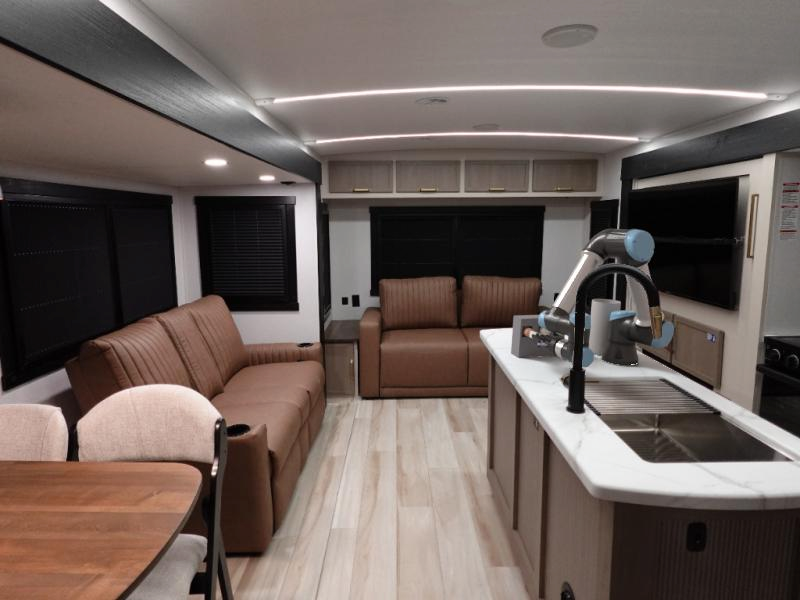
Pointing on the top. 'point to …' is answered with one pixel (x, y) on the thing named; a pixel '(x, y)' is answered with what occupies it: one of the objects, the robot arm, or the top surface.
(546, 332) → the cream button
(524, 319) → the console
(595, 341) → the cylinder vase
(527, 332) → the terracotta button
